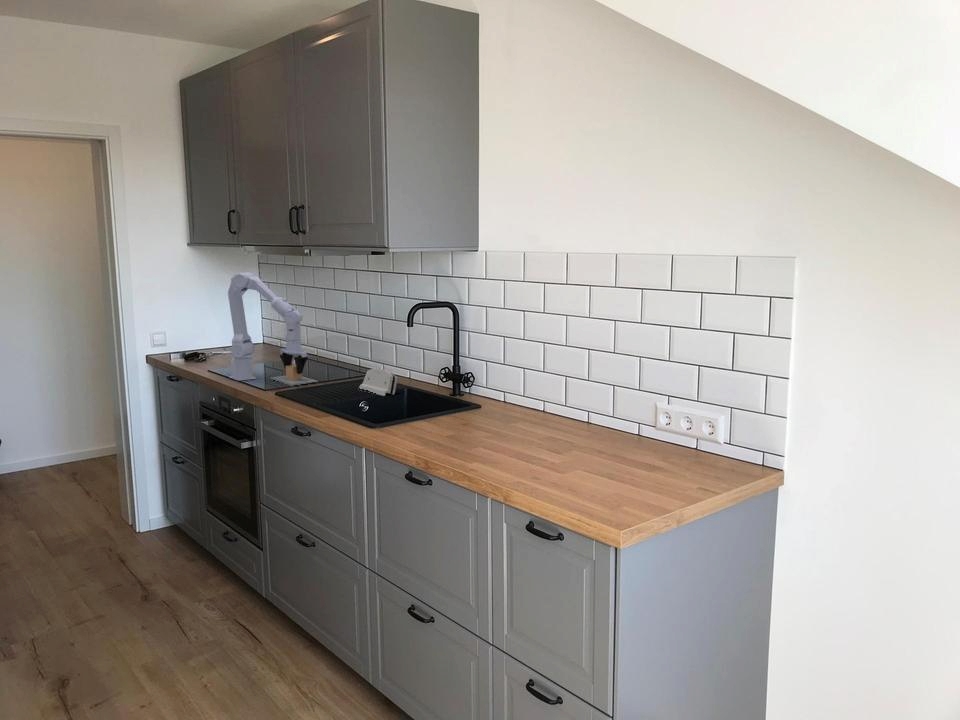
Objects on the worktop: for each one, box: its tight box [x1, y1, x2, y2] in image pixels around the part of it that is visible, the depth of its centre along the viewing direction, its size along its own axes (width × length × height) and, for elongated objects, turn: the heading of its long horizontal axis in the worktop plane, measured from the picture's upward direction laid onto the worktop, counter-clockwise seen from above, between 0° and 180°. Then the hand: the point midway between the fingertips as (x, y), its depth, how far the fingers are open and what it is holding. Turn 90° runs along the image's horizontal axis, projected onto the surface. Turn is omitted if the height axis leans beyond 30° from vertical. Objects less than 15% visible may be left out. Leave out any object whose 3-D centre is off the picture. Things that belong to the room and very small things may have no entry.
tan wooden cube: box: [285, 364, 303, 380], centre depth 326 cm, size 5×5×6 cm
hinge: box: [358, 368, 398, 397], centre depth 310 cm, size 17×5×10 cm, turn 46°
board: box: [269, 375, 319, 387], centre depth 326 cm, size 18×12×4 cm, turn 42°
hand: (293, 372), depth 326 cm, fingers open, 7 cm apart
